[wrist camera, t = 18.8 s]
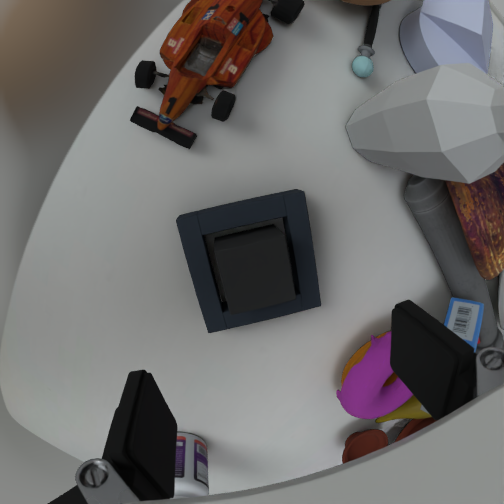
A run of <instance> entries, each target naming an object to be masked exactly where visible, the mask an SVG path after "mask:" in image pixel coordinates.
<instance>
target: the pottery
mask: <svg viewBox="0 0 504 504" xmlns="http://www.w3.org/2000/svg"><path fill="white" fill-rule="evenodd" d="M436 421H438V420H434V419H433V417H429V418H424V419H413V420H411V421H410V422H409V423H408V424H407V425H406V427H405V428H404V429H403V430H402V431H401V433H400V434H399V436H398V437H397V439H396V440H395V442H397V441H399V440H401V439H403V438H405V437H407V436H409V435H411V434H413V433H415V432H417V431H419V430H421V429H423V428H425V427H427V426H429V425H430V424H432V423H434V422H436ZM395 442H394V443H395ZM386 446H388V437H387V435H386V434H385V432H383V431H382V430H378V429H370V430H366V431H363V432H356V433H353V434H352V435H350V436H349V437H348V438H347V440H346V442H345V449H344V451H343V455H342V462H343V464H344V463H347V462H349V461H352V460H355V459H357V458H360V457H362V456H365V455H367V454H370V453H372V452H375V451H377V450H379V449H382V448H384V447H386Z"/></svg>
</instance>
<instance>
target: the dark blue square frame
mask: <svg viewBox="0 0 504 504" xmlns="http://www.w3.org/2000/svg"><path fill="white" fill-rule="evenodd" d="M281 217H283V222H284V228H285V233H286V239H287V244H288V250H289V256H290V262H291V267H292V273H293V279H294V289H295V295H296V299H295V300H292V301H288V302H284V303H280V304H276V305H272V306H268V307H264V308H260V309H256V310H251V311H247V312H243V313H238V314H234V315H231V314H230V311H229V308H228V304H227V301H224V302H222V300H221V297H220V293H219V289H218V285H217V282H216V278H215V274H214V270H213V266H212V263H211V259H210V255H209V251H208V247H207V243H206V239H205V235H206V234H211V233H215V232H219V231H223V230H228V229H232V228H236V227H241V226H245V225H250V224H254V223H258V222H263V221H267V220H272V219H277V218H281ZM176 223H177V227H178V230H179V234H180V238H181V242H182V245H183V249H184V253H185V256H186V260H187V264H188V267H189V271H190V274H191V278H192V281H193V284H194V288H195V291H196V295H197V298H198V301H199V305H200V308H201V311H202V314H203V317H204V321H205V324H206V327H207V330H208V333H212V332H217V331H221V330H226V329H230V328H235V327H239V326H243V325H248V324H252V323H256V322H260V321H265V320H269V319H273V318H277V317H281V316H285V315H289V314H292V313H296V312H300V311H304V310H308V309H311V308H315V307H319V306H321V301H320V292H319V285H318V277H317V270H316V263H315V256H314V249H313V242H312V236H311V229H310V223H309V217H308V211H307V205H306V199H305V193H304V191H301V190H298V189H294V190H289V191H285V192H280V193H275V194H270V195H265V196H260V197H256V198H251V199H247V200H242V201H238V202H233V203H229V204H224V205H220V206H216V207H211V208H207V209H203V210H199V211H195V212H191V213H187V214H183V215H179V217H178V218H177V219H176Z"/></svg>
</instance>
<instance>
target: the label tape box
mask: <svg viewBox="0 0 504 504" xmlns="http://www.w3.org/2000/svg"><path fill="white" fill-rule="evenodd" d="M483 310H484V304H483V303H480V302H475V301H471V300H465V299H459V298H451V300H450V304H449V307H448V311H447V315H446V318H445V322H444V325H445V326H446V327H447V328H449V329H450V330H451V331H453V332H454V333H455V334H457V335H458V336H459V337H460V338H462V339H463V340H464V341H466V342H467V343H468V344H470V345H471V346H472V347H473V348H475V349H474V352H475V351H476V347H477V343H478V338H479V333H480V328H481V323H482V317H483ZM421 410H422V411H424V412H426V413H428V411H427V410H426V409H425V408H424V407H423V405H422V404H421ZM428 414H429V413H428Z"/></svg>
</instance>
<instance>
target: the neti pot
mask: <svg viewBox="0 0 504 504" xmlns="http://www.w3.org/2000/svg"><path fill="white" fill-rule="evenodd" d="M429 417H432V416H431V415H430V414H428V413H426V412H424V411H422V410H421V403H420V402H419V401H418V399H417V398H416V397H415V396H414V395H412V396H411V397H410V398H409V399H408V400H407V401H406V402H405V403H404V404H402V405H401V406H400V407H398V408H397V409H395V410H394V411H392V412H390V413H388V414H386V415H384V416H381V417H379V418H377V419H376V421H375V422H376V423H381V422H385V421H389V420H394V419H403V418H407V419H424V418H429Z"/></svg>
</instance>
